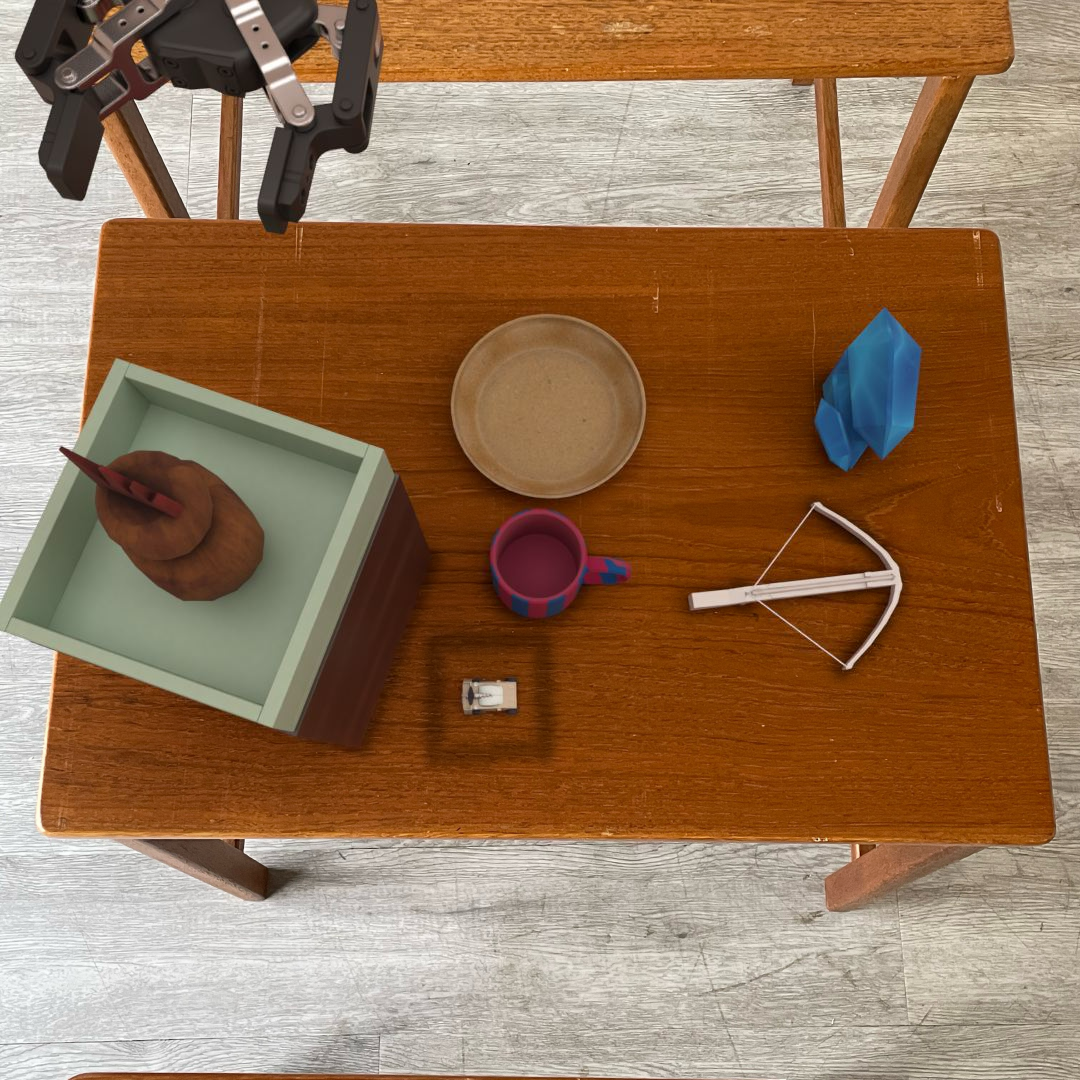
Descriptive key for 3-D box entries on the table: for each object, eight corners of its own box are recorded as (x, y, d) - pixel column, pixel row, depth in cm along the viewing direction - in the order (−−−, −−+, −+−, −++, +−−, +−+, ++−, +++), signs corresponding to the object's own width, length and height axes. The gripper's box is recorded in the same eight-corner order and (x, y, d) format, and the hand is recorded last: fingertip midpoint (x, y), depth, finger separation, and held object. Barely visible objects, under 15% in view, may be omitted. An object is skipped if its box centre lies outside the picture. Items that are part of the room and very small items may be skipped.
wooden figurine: (130, 542, 55) (-11, 457, 40) (214, 469, 56) (106, 360, 41) (214, 634, 54) (101, 580, 39) (298, 558, 55) (218, 478, 40)
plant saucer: (432, 352, 82) (429, 338, 79) (611, 308, 83) (614, 293, 80) (479, 528, 79) (478, 519, 76) (665, 479, 80) (670, 470, 77)
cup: (503, 522, 79) (502, 499, 72) (632, 551, 79) (642, 530, 72) (483, 607, 77) (479, 591, 71) (614, 637, 77) (623, 623, 70)
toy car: (517, 714, 76) (517, 712, 74) (462, 715, 76) (460, 714, 74) (516, 678, 76) (516, 675, 74) (461, 679, 76) (460, 677, 74)
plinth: (167, 679, 76) (29, 641, 54) (247, 492, 79) (146, 387, 58) (359, 748, 75) (296, 737, 54) (432, 556, 78) (399, 473, 57)
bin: (34, 639, 54) (-12, 626, 50) (148, 391, 57) (115, 357, 53) (293, 732, 54) (272, 728, 49) (395, 475, 57) (384, 449, 52)
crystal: (828, 468, 73) (830, 297, 73) (795, 475, 82) (798, 322, 82) (933, 469, 73) (935, 299, 73) (889, 476, 82) (892, 324, 82)
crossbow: (875, 500, 81) (886, 493, 79) (909, 662, 78) (921, 659, 76) (675, 522, 79) (681, 515, 77) (702, 688, 76) (709, 685, 74)
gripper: (60, -226, 42) (-55, 122, 38) (406, -171, 42) (324, 183, 38) (127, -77, 49) (35, 227, 46) (422, -31, 49) (354, 278, 46)
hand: (167, 207), depth 42 cm, fingers open, 8 cm apart
